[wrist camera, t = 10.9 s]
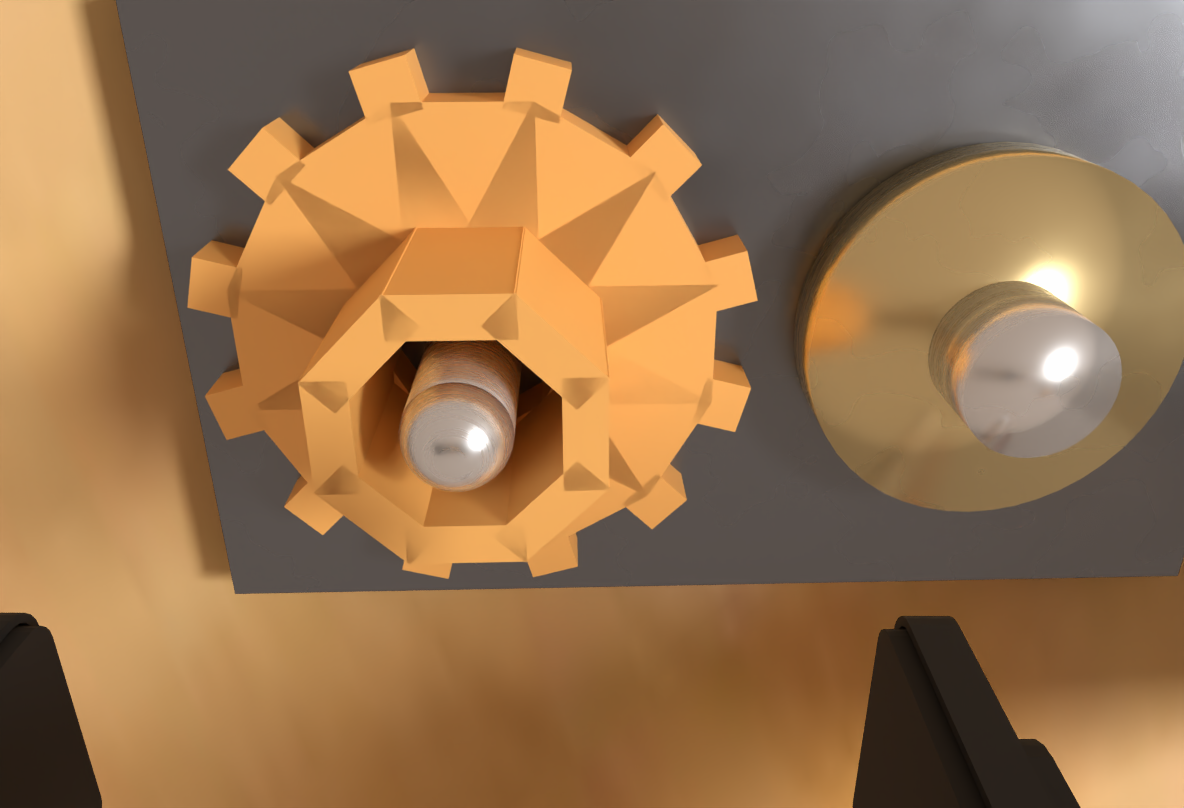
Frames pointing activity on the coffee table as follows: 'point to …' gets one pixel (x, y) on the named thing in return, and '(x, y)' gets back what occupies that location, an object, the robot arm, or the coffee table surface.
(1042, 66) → the carrier plate
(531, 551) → the planet gear
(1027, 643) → the coffee table surface
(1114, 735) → the coffee table surface
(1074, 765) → the coffee table surface
